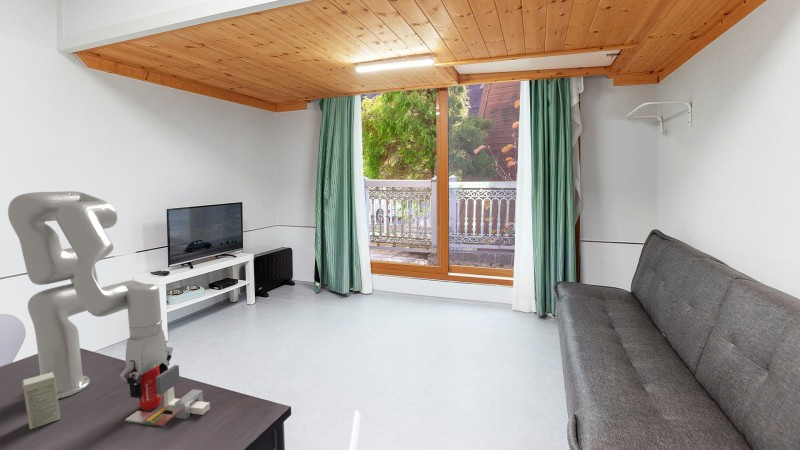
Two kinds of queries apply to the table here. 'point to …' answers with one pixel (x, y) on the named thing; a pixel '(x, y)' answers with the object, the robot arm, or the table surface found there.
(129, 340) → the robot arm
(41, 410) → the skincare box
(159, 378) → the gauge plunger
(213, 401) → the table surface
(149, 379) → the beverage can
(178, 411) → the bench
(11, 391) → the table surface
